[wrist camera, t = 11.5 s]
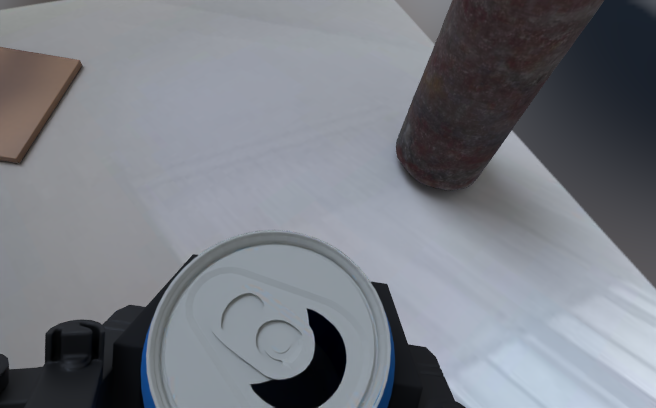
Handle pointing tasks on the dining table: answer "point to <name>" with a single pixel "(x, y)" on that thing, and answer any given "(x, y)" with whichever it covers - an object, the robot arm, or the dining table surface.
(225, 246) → the beverage can
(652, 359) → the dining table surface
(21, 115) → the cork mat
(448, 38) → the stone cylinder
